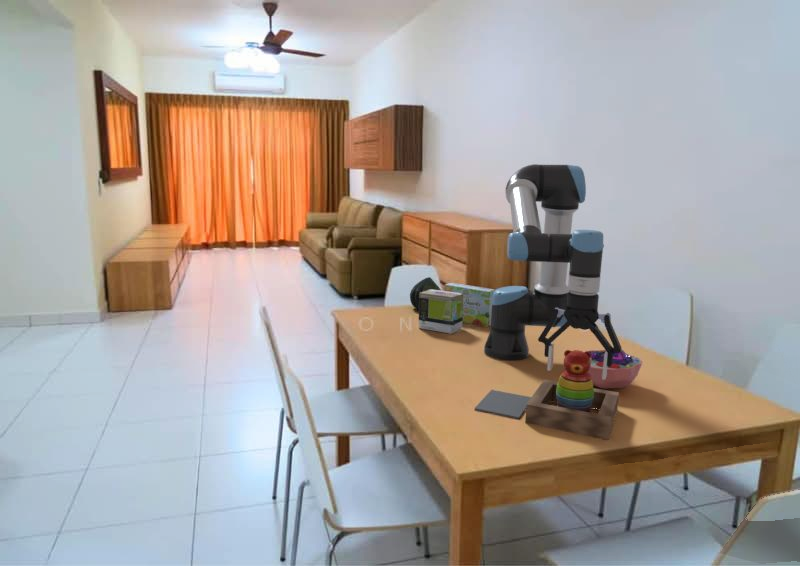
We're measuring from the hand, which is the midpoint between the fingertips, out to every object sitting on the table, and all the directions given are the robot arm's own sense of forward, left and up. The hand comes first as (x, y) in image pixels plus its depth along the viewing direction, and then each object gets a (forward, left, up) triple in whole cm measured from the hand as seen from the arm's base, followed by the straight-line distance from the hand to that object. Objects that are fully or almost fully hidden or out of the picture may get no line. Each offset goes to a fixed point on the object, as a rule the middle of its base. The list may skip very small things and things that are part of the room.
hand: (576, 373), depth 151 cm
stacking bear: (0, 0, -12) cm, 12 cm away
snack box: (-56, +77, -12) cm, 96 cm away
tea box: (-62, +61, -12) cm, 88 cm away
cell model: (+5, +28, -12) cm, 31 cm away
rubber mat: (-18, -1, -12) cm, 22 cm away
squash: (-80, +88, -12) cm, 120 cm away
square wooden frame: (0, 0, -12) cm, 12 cm away
